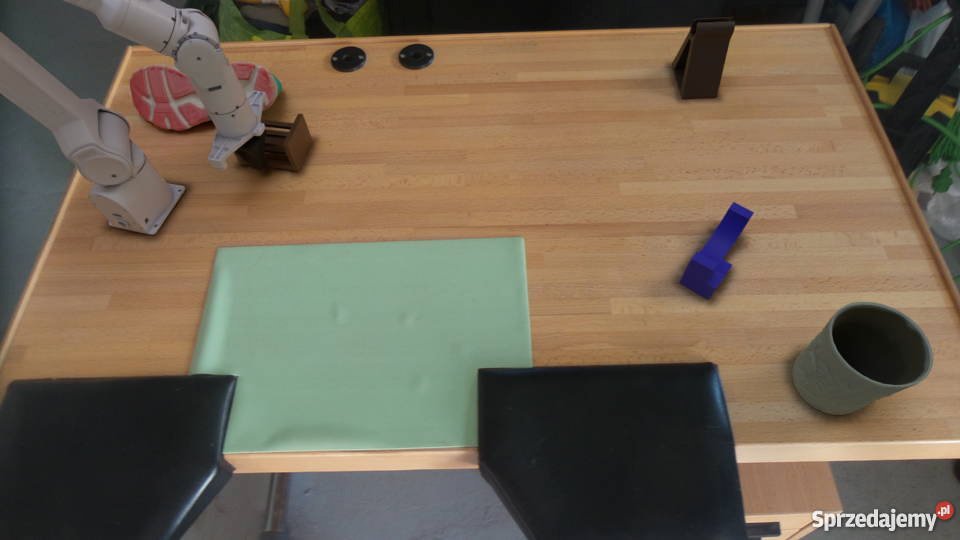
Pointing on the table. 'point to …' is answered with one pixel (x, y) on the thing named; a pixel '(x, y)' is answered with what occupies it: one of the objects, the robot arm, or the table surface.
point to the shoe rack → (286, 143)
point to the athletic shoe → (189, 93)
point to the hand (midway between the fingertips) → (259, 167)
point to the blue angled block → (716, 253)
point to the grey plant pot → (861, 358)
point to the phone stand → (703, 57)
